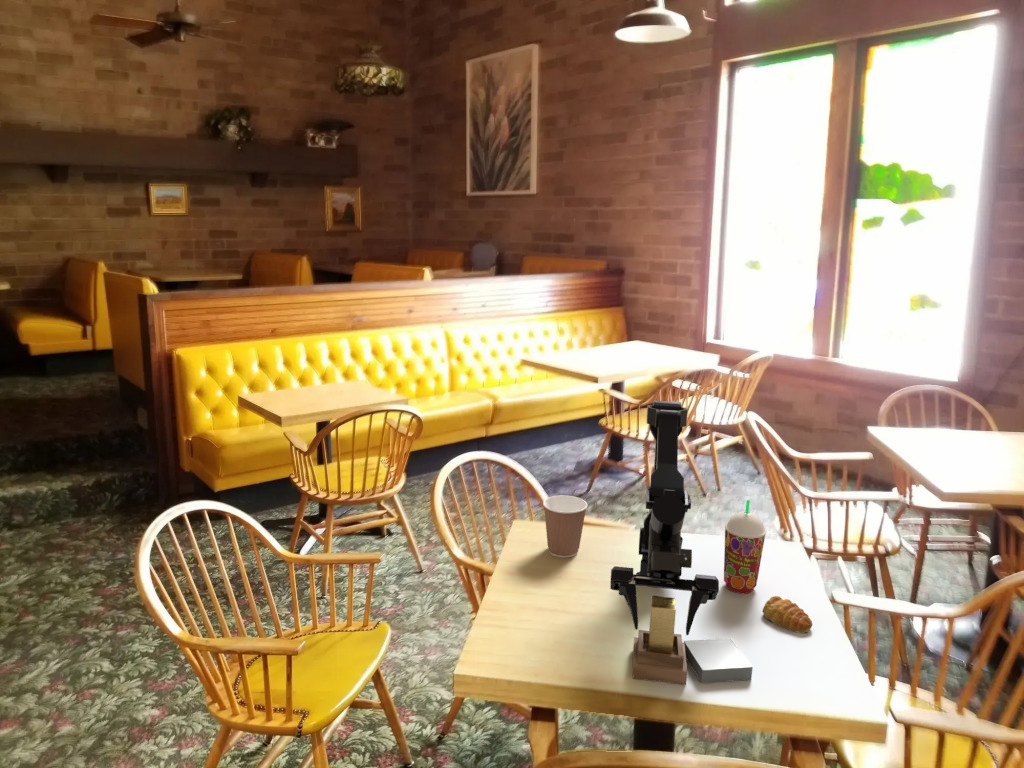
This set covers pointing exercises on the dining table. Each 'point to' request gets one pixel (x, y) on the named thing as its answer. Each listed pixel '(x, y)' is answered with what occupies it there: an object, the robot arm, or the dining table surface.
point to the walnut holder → (659, 661)
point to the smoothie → (743, 551)
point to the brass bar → (662, 625)
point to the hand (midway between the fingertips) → (661, 631)
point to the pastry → (787, 614)
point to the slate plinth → (717, 660)
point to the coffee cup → (564, 524)
